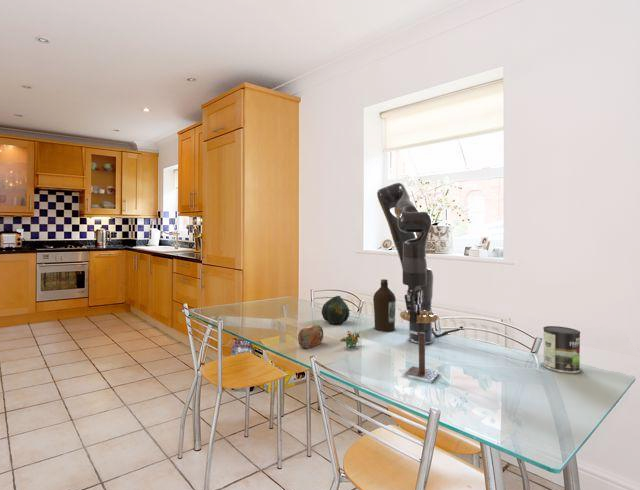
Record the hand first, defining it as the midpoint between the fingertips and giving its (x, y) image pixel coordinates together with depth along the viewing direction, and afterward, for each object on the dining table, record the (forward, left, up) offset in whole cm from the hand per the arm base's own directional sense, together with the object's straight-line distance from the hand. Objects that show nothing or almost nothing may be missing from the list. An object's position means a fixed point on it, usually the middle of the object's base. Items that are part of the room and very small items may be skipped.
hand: (414, 321), depth 133 cm
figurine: (-17, -31, -20) cm, 41 cm away
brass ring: (-5, 0, +1) cm, 5 cm away
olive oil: (-58, -31, -20) cm, 69 cm away
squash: (-56, -57, -20) cm, 82 cm away
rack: (-5, +1, -20) cm, 21 cm away
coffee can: (-43, +38, -20) cm, 61 cm away
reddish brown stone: (-12, -47, -20) cm, 53 cm away
